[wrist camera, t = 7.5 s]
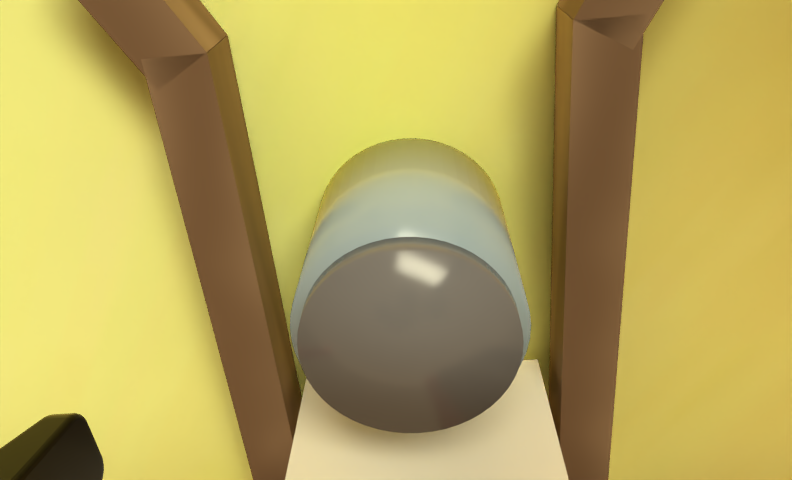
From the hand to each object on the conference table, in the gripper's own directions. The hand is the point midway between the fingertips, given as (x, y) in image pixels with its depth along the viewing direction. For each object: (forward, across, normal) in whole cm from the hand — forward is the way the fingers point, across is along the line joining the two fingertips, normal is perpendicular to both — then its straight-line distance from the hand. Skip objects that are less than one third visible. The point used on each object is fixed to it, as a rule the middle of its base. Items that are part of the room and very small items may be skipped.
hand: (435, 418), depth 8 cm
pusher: (+11, +1, +12) cm, 16 cm away
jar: (+12, +1, +3) cm, 12 cm away
